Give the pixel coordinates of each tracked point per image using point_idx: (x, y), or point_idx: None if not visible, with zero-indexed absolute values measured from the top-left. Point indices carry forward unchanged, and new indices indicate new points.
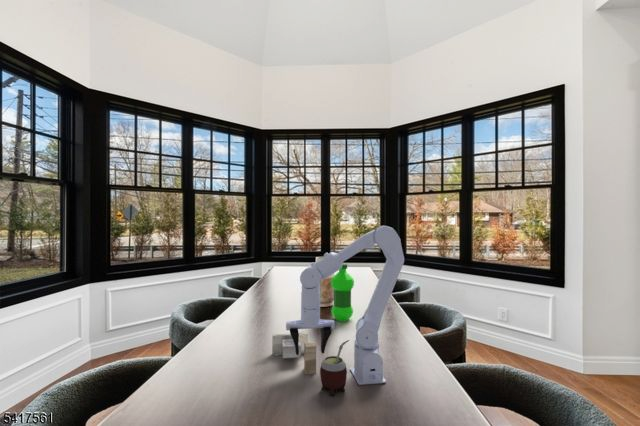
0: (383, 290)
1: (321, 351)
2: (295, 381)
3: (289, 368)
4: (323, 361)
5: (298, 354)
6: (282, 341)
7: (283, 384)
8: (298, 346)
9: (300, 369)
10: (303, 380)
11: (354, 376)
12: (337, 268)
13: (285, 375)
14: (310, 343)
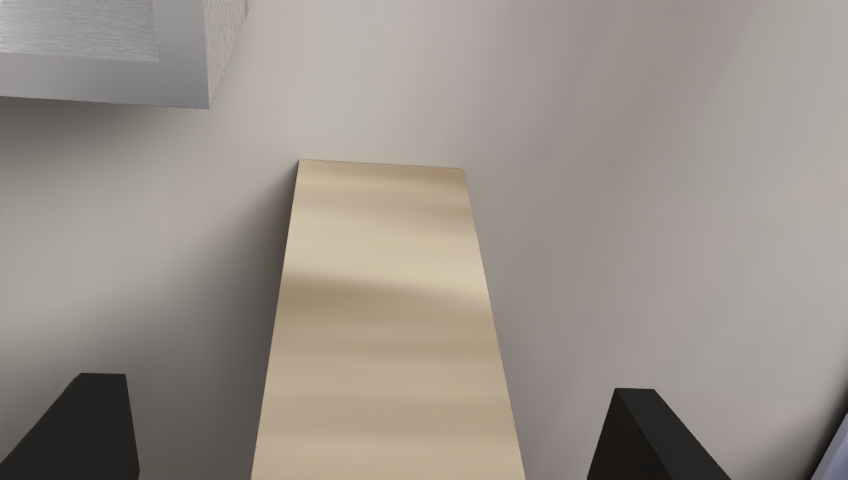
0: None
1: (601, 452)
2: (158, 415)
3: (57, 102)
4: None
5: (135, 473)
6: None
7: (17, 443)
8: (138, 93)
9: (240, 167)
10: (254, 411)
11: (825, 467)
12: None
13: (16, 281)
14: None
